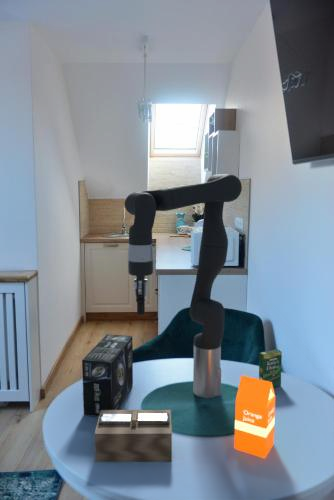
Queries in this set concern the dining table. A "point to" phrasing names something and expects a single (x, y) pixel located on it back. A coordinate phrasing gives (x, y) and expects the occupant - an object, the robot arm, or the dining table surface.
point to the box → (107, 374)
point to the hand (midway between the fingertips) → (141, 313)
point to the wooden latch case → (133, 439)
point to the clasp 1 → (115, 419)
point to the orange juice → (254, 416)
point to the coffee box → (270, 367)
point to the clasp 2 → (153, 418)
